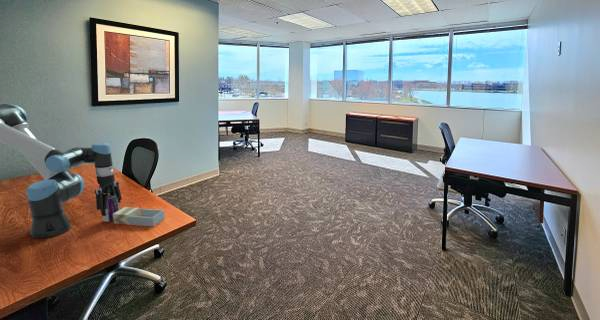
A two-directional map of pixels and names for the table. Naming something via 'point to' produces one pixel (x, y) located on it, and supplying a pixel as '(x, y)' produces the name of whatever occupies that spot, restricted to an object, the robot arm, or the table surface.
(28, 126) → the robot arm
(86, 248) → the table surface
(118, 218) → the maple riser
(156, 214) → the cradle tray
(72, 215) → the table surface
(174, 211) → the table surface
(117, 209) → the beverage can
